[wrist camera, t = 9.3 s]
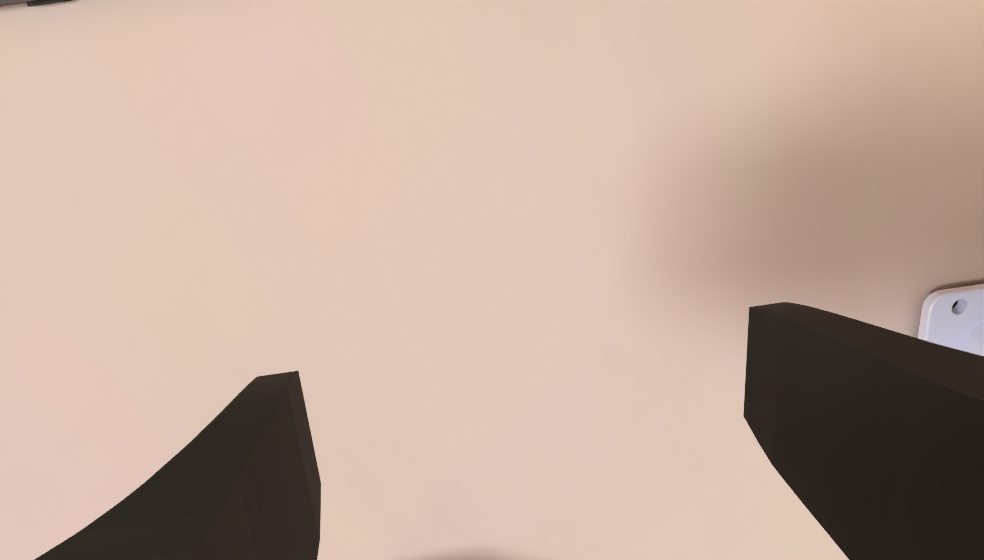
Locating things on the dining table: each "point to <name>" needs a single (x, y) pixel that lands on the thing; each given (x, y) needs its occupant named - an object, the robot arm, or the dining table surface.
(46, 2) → the smartphone
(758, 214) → the dining table surface
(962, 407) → the robot arm
